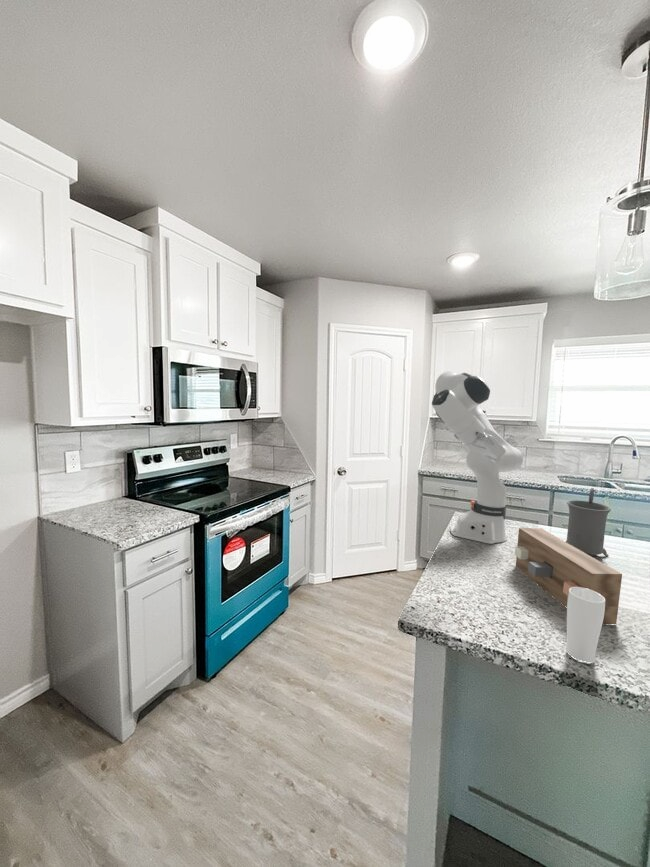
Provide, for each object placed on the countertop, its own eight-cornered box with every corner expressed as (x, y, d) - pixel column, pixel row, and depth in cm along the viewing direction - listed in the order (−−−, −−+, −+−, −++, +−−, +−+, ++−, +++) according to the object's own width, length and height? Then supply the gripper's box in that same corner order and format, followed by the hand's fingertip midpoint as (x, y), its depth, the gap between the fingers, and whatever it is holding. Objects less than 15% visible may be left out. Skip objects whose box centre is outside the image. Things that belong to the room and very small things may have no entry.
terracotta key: (571, 599, 97) (573, 588, 96) (562, 592, 100) (564, 581, 100) (591, 599, 97) (593, 588, 96) (582, 592, 100) (583, 581, 100)
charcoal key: (534, 576, 108) (535, 567, 108) (528, 571, 112) (528, 561, 112) (552, 577, 109) (553, 567, 108) (545, 571, 112) (546, 562, 112)
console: (586, 625, 94) (592, 573, 93) (515, 566, 127) (519, 527, 126) (616, 625, 95) (622, 574, 93) (537, 566, 128) (541, 528, 126)
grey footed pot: (605, 567, 129) (612, 498, 127) (556, 554, 139) (563, 490, 137) (609, 552, 143) (617, 490, 141) (565, 541, 153) (571, 483, 151)
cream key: (520, 559, 120) (521, 550, 120) (514, 554, 124) (515, 546, 124) (536, 559, 121) (537, 550, 120) (530, 555, 124) (531, 546, 124)
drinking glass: (588, 672, 78) (595, 605, 76) (555, 652, 84) (562, 590, 82) (604, 662, 81) (612, 598, 79) (572, 643, 87) (578, 584, 85)
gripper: (493, 427, 110) (521, 460, 112) (464, 422, 131) (489, 450, 132) (477, 441, 111) (506, 473, 112) (451, 434, 131) (476, 462, 132)
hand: (496, 461), depth 122 cm, fingers closed
